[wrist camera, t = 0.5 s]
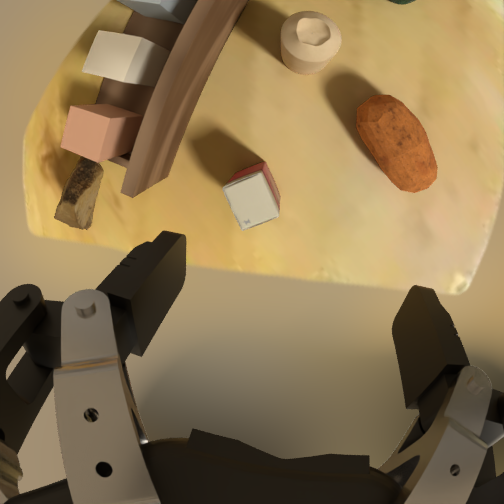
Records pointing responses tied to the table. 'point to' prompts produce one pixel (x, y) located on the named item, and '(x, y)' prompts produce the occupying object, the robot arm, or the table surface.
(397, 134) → the potato
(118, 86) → the tray
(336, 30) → the candle
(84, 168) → the rock
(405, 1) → the coffee jar
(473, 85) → the table surface
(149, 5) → the grey blue block
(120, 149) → the key terracotta
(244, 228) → the small box
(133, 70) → the cream rectangular block
